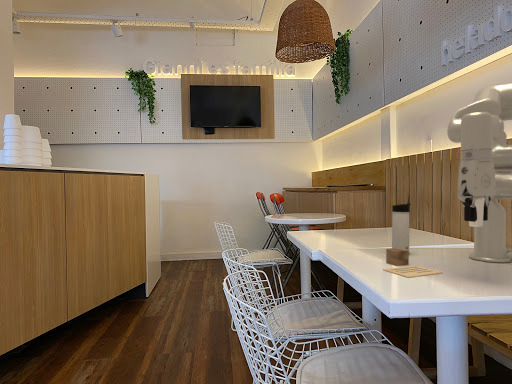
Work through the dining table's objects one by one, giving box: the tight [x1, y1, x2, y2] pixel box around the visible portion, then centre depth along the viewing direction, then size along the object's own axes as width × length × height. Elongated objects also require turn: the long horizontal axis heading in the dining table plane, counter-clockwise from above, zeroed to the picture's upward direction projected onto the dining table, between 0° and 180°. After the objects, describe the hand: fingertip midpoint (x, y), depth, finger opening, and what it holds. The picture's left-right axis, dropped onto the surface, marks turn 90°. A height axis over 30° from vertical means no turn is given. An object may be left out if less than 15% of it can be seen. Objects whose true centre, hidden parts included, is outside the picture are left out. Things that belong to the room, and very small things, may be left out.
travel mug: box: [391, 203, 411, 251], centre depth 133 cm, size 6×7×20 cm
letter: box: [382, 265, 444, 279], centre depth 104 cm, size 14×10×1 cm
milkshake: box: [468, 195, 485, 228], centre depth 97 cm, size 4×5×10 cm
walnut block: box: [385, 247, 410, 267], centre depth 115 cm, size 5×5×5 cm
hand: (475, 220), depth 96 cm, fingers closed on milkshake, 4 cm apart
